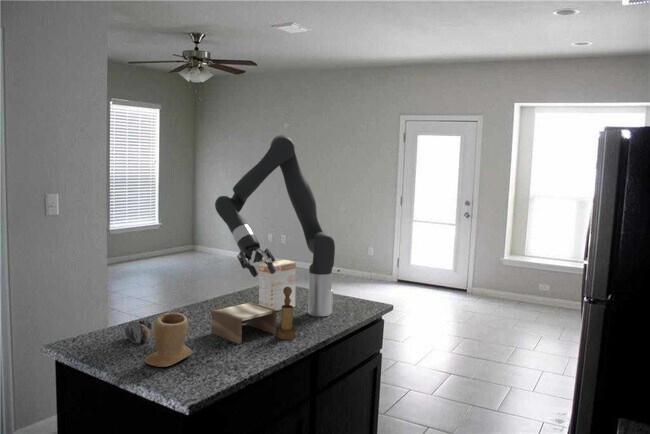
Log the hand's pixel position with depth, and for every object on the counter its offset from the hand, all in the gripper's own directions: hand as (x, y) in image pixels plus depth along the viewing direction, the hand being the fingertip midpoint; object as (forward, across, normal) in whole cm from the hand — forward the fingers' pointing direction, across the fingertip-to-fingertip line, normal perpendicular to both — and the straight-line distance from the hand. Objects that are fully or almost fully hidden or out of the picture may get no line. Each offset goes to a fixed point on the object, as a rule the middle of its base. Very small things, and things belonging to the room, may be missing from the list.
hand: (265, 274), depth 202 cm
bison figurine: (+2, -38, +28) cm, 48 cm away
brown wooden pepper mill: (+23, 0, +6) cm, 24 cm away
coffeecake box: (+2, +23, +28) cm, 36 cm away
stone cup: (+19, -42, +11) cm, 47 cm away
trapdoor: (+12, -8, +14) cm, 20 cm away
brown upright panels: (+14, -8, +15) cm, 22 cm away
